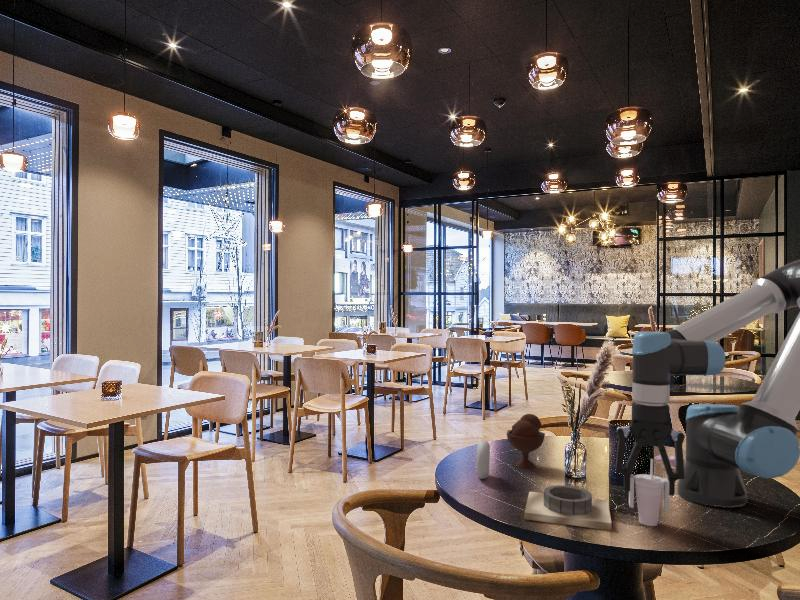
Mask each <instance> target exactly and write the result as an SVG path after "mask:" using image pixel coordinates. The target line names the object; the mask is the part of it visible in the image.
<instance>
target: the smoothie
mask: <svg viewBox="0 0 800 600" xmlns="http://www.w3.org/2000/svg"><path fill="white" fill-rule="evenodd" d="M649 471H650V472H649V474H647V473H646V474H645V473H643V474H641V473H640V474H638V473H637V474H635V475H633V476H634V491H635V494H636V496H635V497H636V505H637V506H636V507H637V514H638V523H640V524H642V525H644V526H647V527H655V526H658V523H659V519H660V518H659V516H660V512H661V511H660V509H661V504H662V499H663V488H664V486H665V480H664V478H662V477H661V476H657V475H654V458H650V470H649Z"/></svg>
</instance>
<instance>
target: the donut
mask: <svg viewBox="0 0 800 600" xmlns="http://www.w3.org/2000/svg"><path fill="white" fill-rule="evenodd" d="M476 448H477V449H476V469H475V470H476V475H477V477H478V478H479V479H480V480H485V479H487V478H488V477H489V475H490V460H491V459H490V453H491V452H490V451H491V449H490V448H491V445H490V443H489V442H488V441H487V440H480V441H479V442H478V443H477V447H476Z"/></svg>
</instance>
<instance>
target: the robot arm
mask: <svg viewBox="0 0 800 600" xmlns="http://www.w3.org/2000/svg"><path fill="white" fill-rule="evenodd" d="M797 307H798V308H799V309H800V259H797V260H794V261H791V262H789V263H786V264H785V265H783V266H781V267H778V268H776V269H774V270H772V271H771V272H769V273H766V274H764V275H763V276H760V277H759V278H757V279H755V280H754V281H753V282H752V284H751V287H749V288H746V289H745V290H743V291H741V292H739V293H738V294H737V293H736V295H733V296H732V297H730V298H728V299H726V300H724V301H722V302H721V303H719V304H716V305H715V306H713V307H711V308H709V309H707V310H705V311H703V312H701V313H699V314H697V315H695V316H693V317H692V318H690V319H688V320H686V321H684V322H682V323H681V324H678V325H676V326H674V327H672V328H671V329H669V330H667V331H645V330H644V331H638V332H636V333H635V334H634V335H633V341H632V342H633V343H632V350H631V353H632V383H631V384H632V385H631V387H632V389H631V391H632V392H631V399H632V400H633V402H631V421H630V423H629V425H627V426H623V427H622V426H617V427H616V432H617V436H618V440H617V447H616V448H617V449H616V456H615V457H616V458H615V471H616V473H617V474H621V475H622V476H623V488H624V491H627V492H628V506H629V508H632V509H634V508H635V500H634V499H635V483H634V476H635V475H634V474H632V473H633V470H634V468H635V465H636V464H637V463H636V462H637V460H638V458H639V455H640V453H641V451H642V449H643V446H653V447H657V448H658V452H659V455H661V458H662V460H661V461H662V465H663V467H664V470H665V472H666V475H667V477H663V479H664V480H665V486H664V487H663V491H662V500H663V501H662V508H663V510H664V512H667V513H669V512H670V496H672V497H673V496H674V495H675V492H676V491H677V494H678V495H679V496H680V497H682V498H683V499H685V500H687V501H689V502H692V501H693V502H692V503H695V502H697V503H696V504H698V503H701V504H700V505H702V504H708V505H721V506H735V505H740V504H744V503H746V502H747V503H748V492H747V489H746V485H745V482H744V480H743V476H742V475H741V471H740V470H742V471H743V472H744V473H747V474H749V475H752V476H757V477H759V478H763V479H775V478H779V477H783V476H785V475H787V474H788V473H790V472H791V471H792V470H793V469H794V468H795V467H796V465H797V464H798V462H799V460H800V441H799V439H798V437H797V434H798V432H799V429H800V428H799V427H798V424H797V422H796V417H797V416H798V414H799V411H800V311H799V312H798V314H797V316H796V318H795V320H794V322H793V324H792V325H791V328H790V329H789V331H788V332H787V334H786V337H785V339H784V340H783V342H782V344H781V346H780V348H779V350H778V352H777V354H776V355H775V357H774V359H773V361H772V363H771V365H770V366H769V369H768V371H767V372H766V374H765V376H764V377H763V380H762V382H761V384H760V386H758V387H759V388H758V389H757V391H756V393H755V395H754V397H753V398H752V400H751V401H750V400H749V401H746V402H742V403H741V404H740V406H739V405H735V404H734V405H733V404H719V403H718V404H715V403H713V404H712V403H699V404H698V403H697V404H690V405H689V406H688V407H687V409H686V416H685V423H686V424H685V425H686V426H685V428H686V430H685V431H686V432H685V434H686V435H685V434H684V432H683V431H682V430H678V431H677V430H675V429H672V427H671V426H670V406H669V404H668V403H670V395H671V394H670V390H671V389H670V387H671V385H670V383H671V376H703V377H707V376H714V375H715V376H717V375H718V374H720V373H722V371H723V370H724V368H725V365H726V353H725V350H724V348H723V347H722V346H721V344H719V343H718V341H720V340H721V339H723V338H725V337H726V336H729V335H731V334H733V333H734V332H736V331H738V330H740V329H743V328H744V327H746V326H748V325H751V323H754V322H755V321H757V320H760V319H761V318H763V317H765V316H766V315H769V314H780V313H782V312H784V311H786V310H788V309H792V308H797ZM629 433H631V434H632V436H633V437H634V438H635V440H634V443H633V446H632V449H631V452H630V453H629V457H628V459H627V461H626V464H625V467H624V466H623V465H624V456H625V449H626V448H625V447H626V438H627V437H629ZM670 435H671V439H672V440H673V441H674V442H673V444H674V456H675V460H676V467H675V472H674V471H673V467H672V466H671V464H670V461H669V458H668V456H669V455H668V453H667V451H666V447H665V443H664V442H666V440H667V439H668V437H670ZM684 440H685V462H686V463H685V466H684V462H683V459H684V452H683V450H684V449H683V448H684V447H683V443H684ZM676 481H678V482H677V488H676V487H675V486H676V485H675V484H676ZM676 489H677V490H676Z"/></svg>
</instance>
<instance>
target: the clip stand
mask: <svg viewBox="0 0 800 600" xmlns="http://www.w3.org/2000/svg"><path fill="white" fill-rule="evenodd" d="M524 520H526V521H527V520H528V521H535V522H543V523H549V524H550V523H551V524H552V523H553V524H557V525H558V524H559V525H567V526H576V527H582V528H590V529H596V530H597V529H598V530H605V531H607V530H608V531H612V519H611V512H610V505H609V501H608V499H600V498H599V499H598V498H593V495H592V493H591V492H590V491H588V490H586V489H584V488H580V487H577V486H574V485H573V486H572V485H565V484H564V485H562V484H561V485H560V484H559V485H558V484H557V485H549V486H548V487H545V488H544V489H543V492H537V491H529V492H528V496H527V500H526V505H525V510H524Z"/></svg>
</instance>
